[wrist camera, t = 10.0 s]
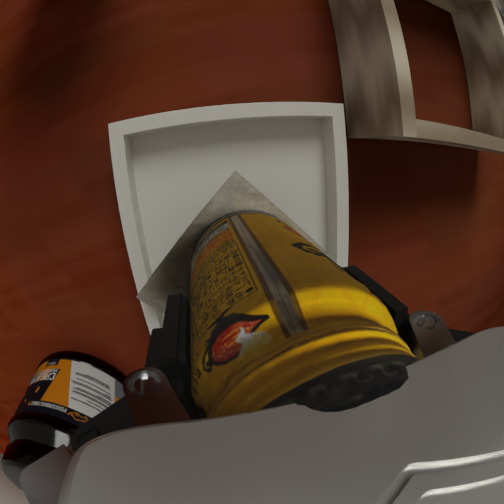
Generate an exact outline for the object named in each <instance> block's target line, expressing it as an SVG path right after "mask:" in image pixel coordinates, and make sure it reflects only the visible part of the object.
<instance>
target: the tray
mask: <svg viewBox="0 0 504 504" xmlns="http://www.w3.org/2000/svg"><path fill="white" fill-rule="evenodd" d="M108 127H109V139H110V149H111V157H112V166H113V173H114V180H115V187H116V194H117V200H118V206H119V211H120V217H121V222H122V227H123V232H124V237H125V242H126V246H127V251H128V255H129V260H130V264H131V268H132V272H133V276H134V280H135V284H136V288H137V291H138V293H139V292H140V291H141V289H142V288H143V287H144V285H145V284H146V282H147V281H148V280H149V278H150V277H151V275H152V274H153V272H154V271H155V270H156V268H157V267H158V266H159V264H160V263H161V262H162V260H163V259H164V258H165V256H166V255H167V254H168V253H169V252H170V250H171V249H172V248H173V246H174V245H175V243H176V242H177V241H178V239H179V238H180V237H181V236H182V234H183V233H184V232H185V230H186V229H187V228H188V226H189V225H190V224H191V223H192V221H193V220H194V219H195V218H196V216H197V215H198V214H199V213H200V211H201V210H202V209H203V208H204V207H205V206H206V204H207V203H208V202H209V201H210V199H211V198H212V197H213V196H214V195H215V193H216V192H217V191H218V190H219V189H220V187H221V186H222V185H223V184H224V183H225V182H226V180H227V179H228V178H229V177H230V176H231V175H232V174H233V172H234V171H237V172H238V173H239V174H240V175H241V176H243V177H244V178H245V179H246V180H247V181H248V182H250V183H251V184H252V185H253V186H254V187H255V188H257V189H258V190H259V191H260V192H261V193H262V194H263V195H265V196H266V197H267V198H268V199H269V200H270V201H271V202H272V203H274V204H275V205H276V206H277V207H278V208H279V209H280V210H281V211H283V212H284V213H285V214H286V215H287V216H288V217H289V218H290V219H291V220H293V221H294V222H295V223H296V224H297V225H298V226H299V227H300V228H301V229H303V230H304V231H305V232H306V233H307V234H308V235H309V236H310V237H311V238H312V239H313V240H315V241H316V242H317V243H318V244H319V245H320V246H321V247H322V248H323V249H324V250H325V251H326V252H327V253H328V254H330V255H331V256H332V258H331V260H333V261H334V262H335V263H337V264H338V265H339V266H341V267H348V240H349V192H348V162H347V144H346V130H345V118H344V107H343V104H341V103H321V102H261V103H242V104H228V105H217V106H207V107H198V108H190V109H183V110H176V111H170V112H163V113H158V114H152V115H147V116H142V117H137V118H132V119H127V120H123V121H118V122H114V123H110V124H108ZM140 302H141V306H142V309H143V313H144V316H145V319H146V322H147V326H148V329H149V332H150V335H151V333H152V329H155V328H163V321H164V314H162V313H161V312H159V311H157V310H156V309H154V308H153V307H151V306H149V305H147V304H145V303H144V302H142V301H141V300H140Z"/></svg>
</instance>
